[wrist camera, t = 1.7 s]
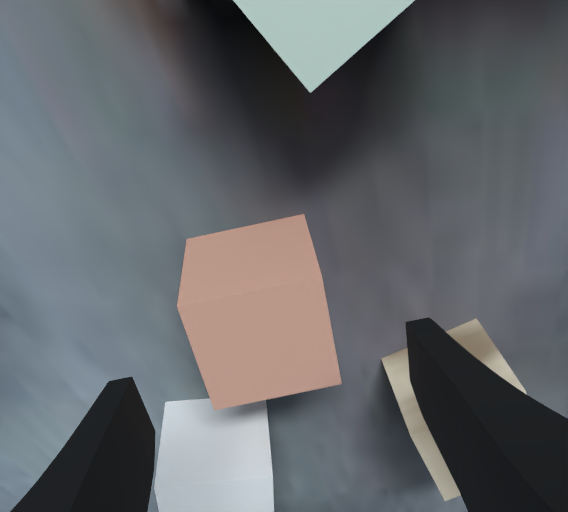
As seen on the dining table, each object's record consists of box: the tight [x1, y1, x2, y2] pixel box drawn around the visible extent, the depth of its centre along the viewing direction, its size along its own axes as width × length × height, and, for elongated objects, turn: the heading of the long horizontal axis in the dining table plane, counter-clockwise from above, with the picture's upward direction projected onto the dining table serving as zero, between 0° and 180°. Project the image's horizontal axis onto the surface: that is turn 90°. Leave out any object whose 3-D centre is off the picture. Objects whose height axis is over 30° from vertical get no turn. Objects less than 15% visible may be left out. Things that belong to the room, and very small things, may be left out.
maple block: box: [382, 319, 527, 501], centre depth 25 cm, size 5×5×5 cm
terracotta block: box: [177, 214, 342, 410], centre depth 21 cm, size 5×5×5 cm
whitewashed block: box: [154, 399, 274, 512], centre depth 26 cm, size 5×5×5 cm
